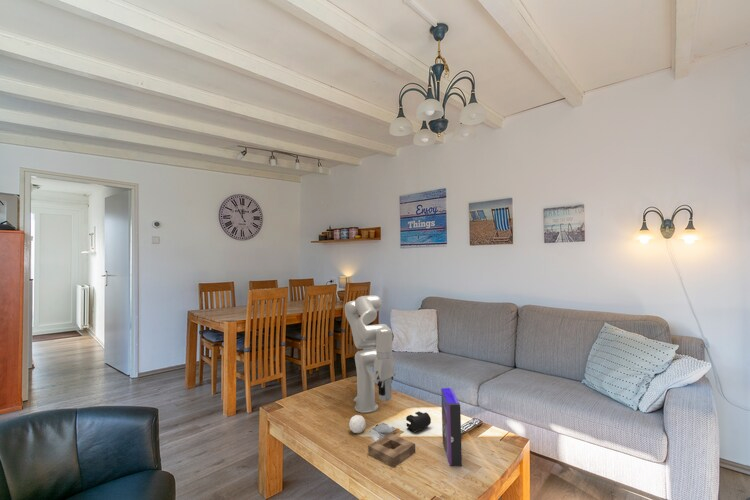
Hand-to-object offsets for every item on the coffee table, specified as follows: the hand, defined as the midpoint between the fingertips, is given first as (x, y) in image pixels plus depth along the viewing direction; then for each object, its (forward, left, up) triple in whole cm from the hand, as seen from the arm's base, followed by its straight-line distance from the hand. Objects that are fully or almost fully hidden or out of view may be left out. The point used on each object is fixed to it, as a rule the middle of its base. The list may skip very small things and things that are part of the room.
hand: (385, 393), depth 169 cm
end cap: (+9, +13, -19) cm, 25 cm away
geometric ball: (-11, -8, -19) cm, 23 cm away
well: (+13, -11, -18) cm, 25 cm away
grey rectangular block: (0, 0, -3) cm, 3 cm away
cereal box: (+32, +5, -19) cm, 38 cm away
